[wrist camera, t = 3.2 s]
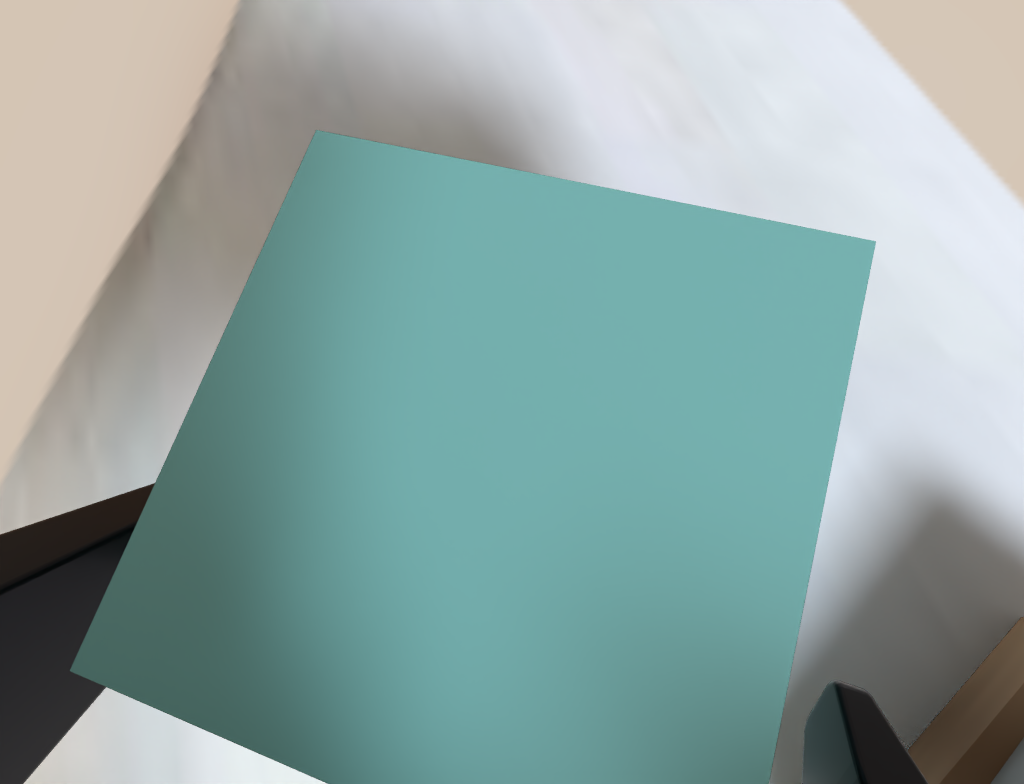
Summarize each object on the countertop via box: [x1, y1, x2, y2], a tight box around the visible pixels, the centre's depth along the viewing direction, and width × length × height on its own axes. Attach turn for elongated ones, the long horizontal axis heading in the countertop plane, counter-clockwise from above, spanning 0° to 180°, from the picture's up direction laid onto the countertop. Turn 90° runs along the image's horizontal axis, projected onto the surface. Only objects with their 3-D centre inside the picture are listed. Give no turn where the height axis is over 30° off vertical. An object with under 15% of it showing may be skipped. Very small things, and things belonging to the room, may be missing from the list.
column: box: [70, 130, 876, 784], centre depth 12 cm, size 6×6×12 cm
